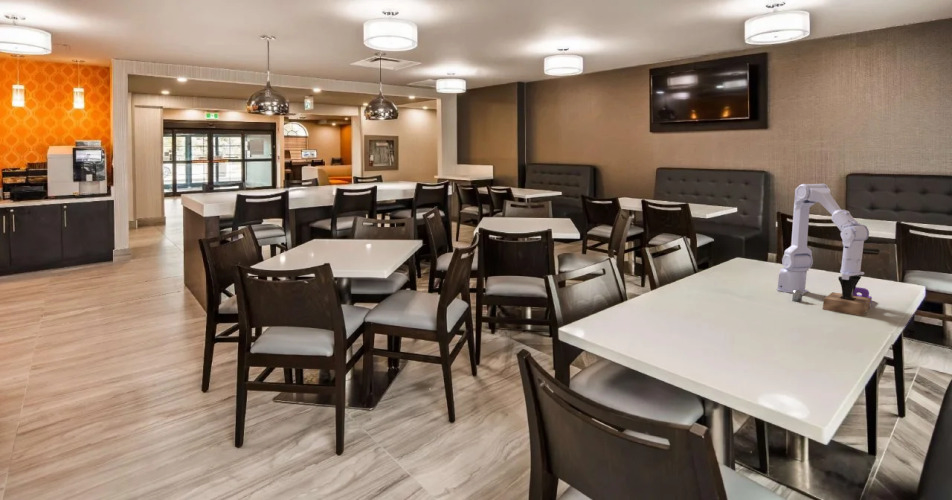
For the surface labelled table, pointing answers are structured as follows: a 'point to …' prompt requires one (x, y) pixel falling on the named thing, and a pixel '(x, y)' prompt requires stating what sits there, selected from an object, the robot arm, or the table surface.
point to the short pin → (797, 295)
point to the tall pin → (848, 297)
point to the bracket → (862, 292)
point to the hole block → (847, 304)
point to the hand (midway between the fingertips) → (847, 295)
